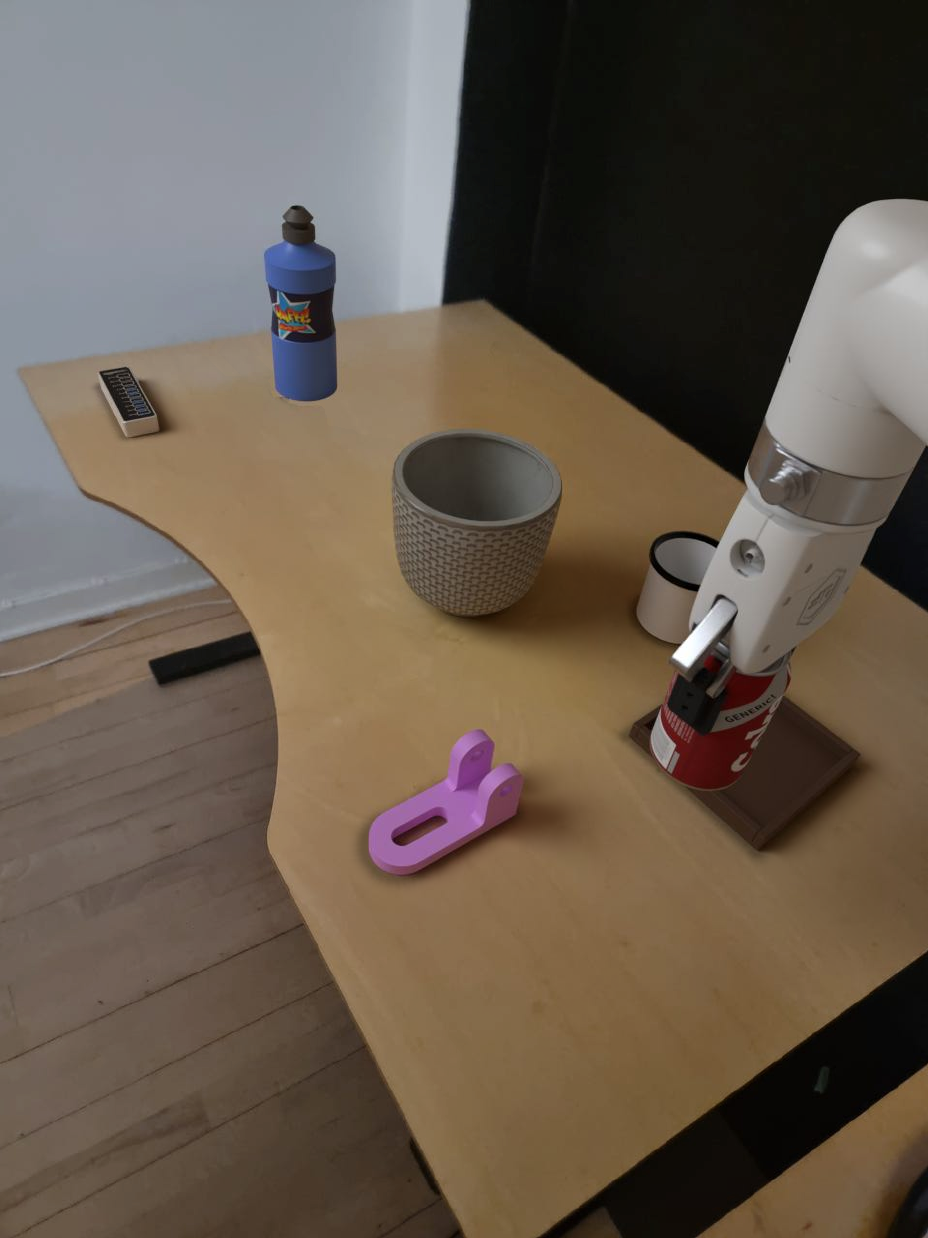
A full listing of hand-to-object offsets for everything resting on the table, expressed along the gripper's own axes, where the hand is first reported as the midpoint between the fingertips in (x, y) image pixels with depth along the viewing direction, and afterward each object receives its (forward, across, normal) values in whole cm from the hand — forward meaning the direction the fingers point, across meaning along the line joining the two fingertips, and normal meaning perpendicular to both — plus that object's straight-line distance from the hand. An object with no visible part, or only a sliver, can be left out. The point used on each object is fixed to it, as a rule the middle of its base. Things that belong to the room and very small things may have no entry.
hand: (724, 691), depth 56 cm
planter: (+24, +10, +36) cm, 44 cm away
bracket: (+24, -11, +14) cm, 30 cm away
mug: (+24, +28, +18) cm, 41 cm away
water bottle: (+23, +20, +84) cm, 89 cm away
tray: (+24, +18, +3) cm, 30 cm away
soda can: (+7, 0, 0) cm, 7 cm away
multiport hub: (+23, -3, +91) cm, 94 cm away
